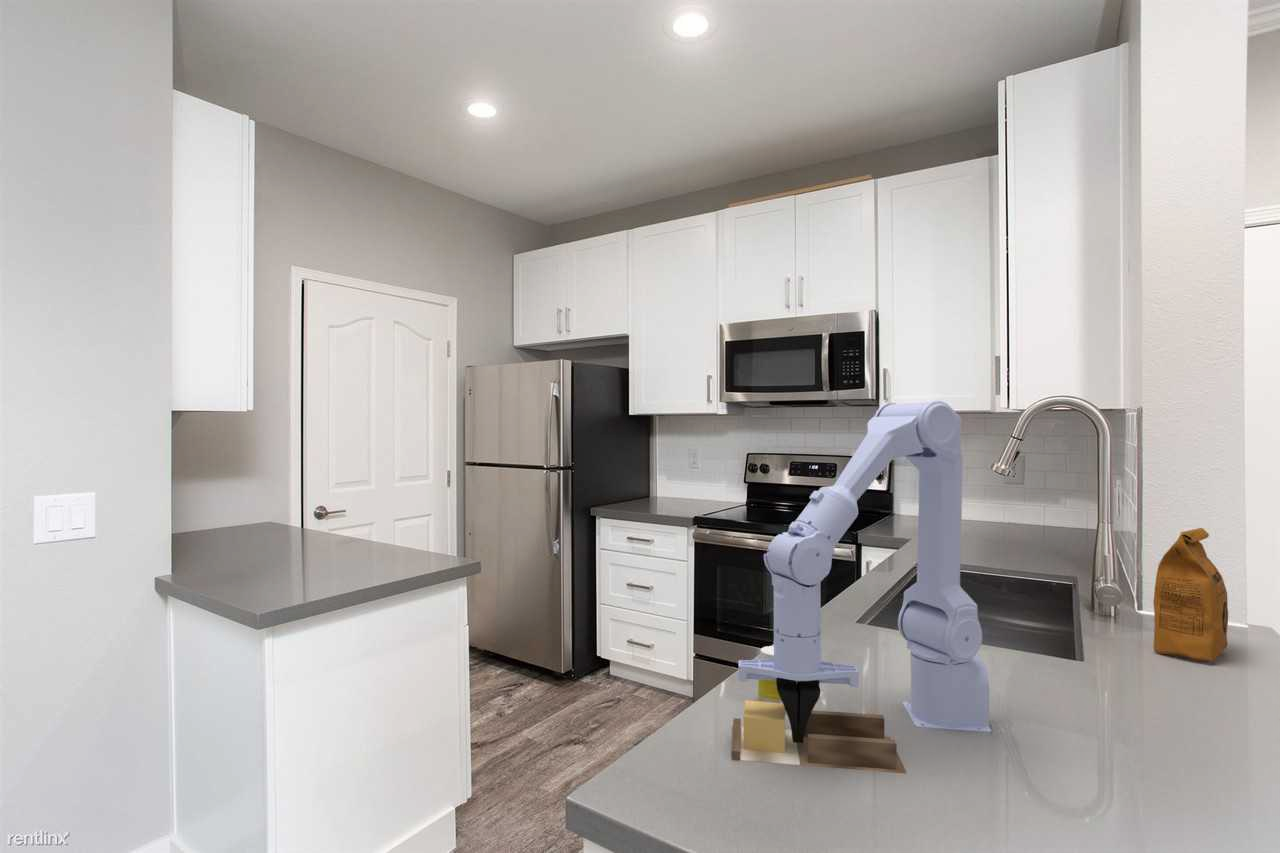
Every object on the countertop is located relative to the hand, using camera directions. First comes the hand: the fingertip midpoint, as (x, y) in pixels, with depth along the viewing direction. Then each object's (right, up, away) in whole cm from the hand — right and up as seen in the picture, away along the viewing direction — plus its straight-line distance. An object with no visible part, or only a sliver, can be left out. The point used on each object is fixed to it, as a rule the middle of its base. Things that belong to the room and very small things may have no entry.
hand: (797, 739), depth 82 cm
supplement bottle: (0, -2, +12) cm, 12 cm away
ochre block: (-4, -1, +1) cm, 4 cm away
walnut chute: (+2, -1, 0) cm, 2 cm away
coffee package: (+79, -2, +35) cm, 86 cm away
